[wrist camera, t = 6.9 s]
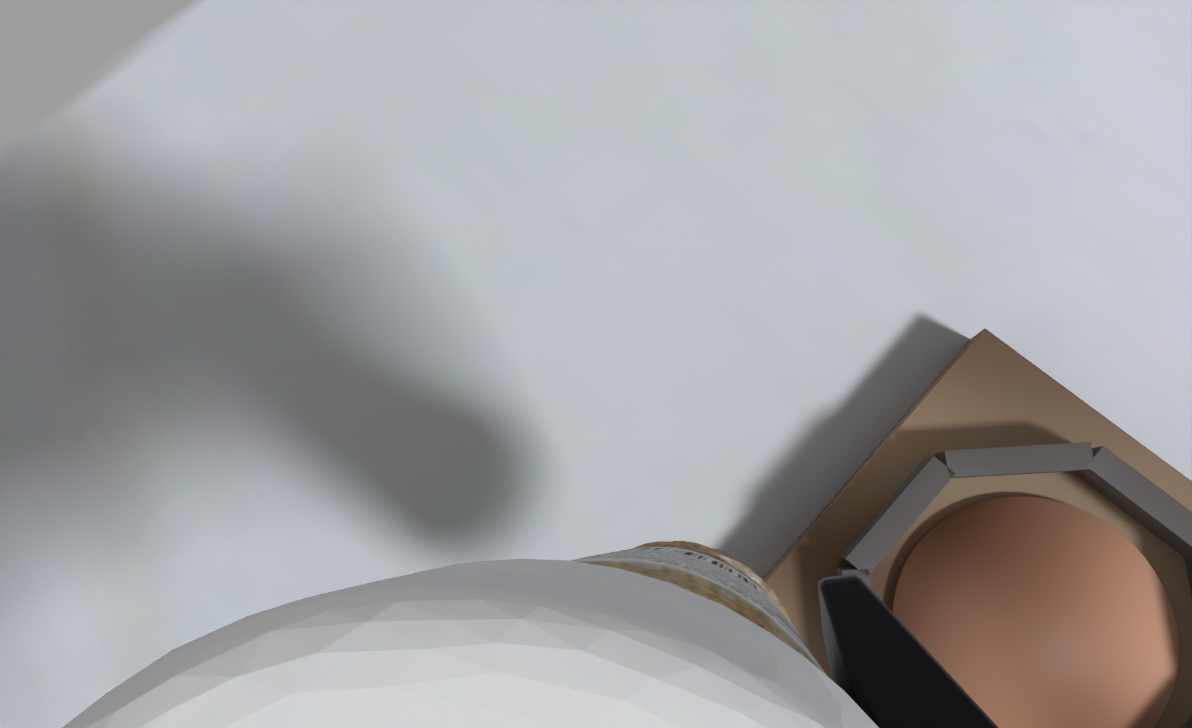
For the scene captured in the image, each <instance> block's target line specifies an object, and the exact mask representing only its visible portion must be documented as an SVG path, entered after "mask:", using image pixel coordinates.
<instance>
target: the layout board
mask: <svg viewBox="0 0 1192 728" xmlns="http://www.w3.org/2000/svg"><path fill="white" fill-rule="evenodd" d="M848 574H854V575H856V576H858V577H860V578H861V579H862V580H863V581H864V582H865V583H866V584H867V585H868V586H869V588H870V589H871V590H872V591H873V592H874V593H875V594H876V595H877V596H878V597H879V598H880V599H881V601H882V602H883V603H884V604H885V605H886V606H887V607H888V608H889V609H890V610H891V611H892V612H893V614H894V615H895V616H896V617H897V618H898V619H899V620H900V621H901V622H902V623H903V624H904V625H905V627H906V628H907V629H908V630H909V631H910V632H911V633H912V634H913V635H914V636H915V637H916V638H917V640H918V641H919V642H920V643H921V644H922V645H923V646H924V647H925V648H926V649H927V650H928V651H929V653H930V654H931V655H932V656H933V657H934V658H935V659H936V660H937V661H938V662H939V663H940V664H941V666H942V667H943V668H944V669H945V670H946V671H947V672H948V673H949V674H950V675H951V676H952V677H953V679H954V680H955V681H956V682H957V683H958V684H959V685H960V686H961V687H962V688H963V689H964V690H965V692H966V693H967V694H968V695H969V696H970V697H971V698H972V699H973V700H974V701H975V702H976V703H977V705H978V706H979V707H980V708H981V709H982V710H983V711H984V712H985V713H986V714H987V715H988V716H989V718H990V719H991V720H992V721H993V722H994V723H995V724H996V725H997V726H998V727H999V728H1192V481H1191V480H1189V479H1188V478H1186V477H1185V476H1184V475H1182V474H1181V473H1180V472H1178V471H1177V470H1176V469H1174V468H1173V467H1172V466H1170V465H1169V464H1168V463H1166V462H1165V461H1164V460H1162V459H1161V458H1159V457H1158V456H1157V455H1155V454H1154V453H1153V452H1151V451H1150V450H1149V449H1147V448H1146V447H1145V446H1143V445H1142V444H1141V443H1139V442H1138V441H1136V440H1135V439H1134V438H1132V437H1131V436H1130V435H1128V434H1127V433H1126V432H1124V431H1123V430H1122V429H1120V428H1119V427H1118V426H1116V425H1115V424H1113V423H1112V422H1111V421H1109V420H1108V419H1107V418H1105V417H1104V416H1103V415H1101V414H1100V413H1099V412H1097V411H1096V410H1095V409H1093V408H1092V407H1090V406H1089V405H1088V404H1086V403H1085V402H1084V401H1082V400H1081V399H1080V398H1078V397H1077V396H1076V395H1074V394H1073V393H1072V392H1070V391H1069V390H1067V389H1066V388H1065V387H1063V386H1062V385H1061V384H1059V383H1058V382H1057V381H1055V380H1054V379H1053V378H1051V377H1050V376H1049V375H1047V374H1046V373H1045V372H1043V371H1042V370H1040V369H1039V368H1038V367H1036V366H1035V365H1034V364H1032V363H1031V362H1030V361H1028V360H1027V359H1026V358H1024V357H1023V356H1022V355H1020V354H1019V353H1017V352H1016V351H1015V350H1013V349H1012V348H1011V347H1009V346H1008V345H1007V344H1005V343H1004V342H1003V341H1001V340H1000V339H999V338H997V337H996V336H994V335H993V334H992V333H990V332H989V331H988V330H986V329H984V330H982V331H981V332H980V333H978V334H977V335H976V336H974V337H973V338H972V339H971V340H970V341H969V342H968V343H967V344H966V345H965V346H964V348H963V349H962V350H961V351H960V352H959V353H958V355H957V356H956V357H955V358H954V359H953V360H952V362H951V363H950V364H949V365H948V366H947V367H946V368H945V370H944V371H943V372H942V373H941V374H940V375H939V377H938V378H937V379H936V380H935V381H934V382H933V384H932V385H931V386H930V387H929V388H928V389H927V390H926V392H925V393H924V394H923V395H922V396H921V397H920V399H919V400H918V401H917V402H916V403H915V404H914V405H913V407H912V408H911V409H910V410H909V411H908V412H907V414H906V415H905V416H904V417H903V418H902V419H901V421H900V422H899V423H898V424H897V425H896V426H895V427H894V429H893V430H892V431H891V432H890V433H889V434H888V436H887V437H886V438H885V439H884V440H883V441H882V443H881V444H880V445H879V446H878V447H877V448H876V449H875V451H874V452H873V453H872V454H871V455H870V456H869V458H868V459H867V460H866V461H865V462H864V463H863V464H862V466H861V467H860V468H859V469H858V470H857V471H856V473H855V474H854V475H853V476H852V477H851V478H850V480H849V481H848V482H847V483H846V484H845V485H844V486H843V488H842V489H841V490H840V491H839V492H838V493H837V495H836V496H835V497H834V498H833V499H832V500H831V501H830V503H829V504H828V505H827V506H826V507H825V508H824V510H823V511H822V512H821V513H820V514H819V515H818V517H817V518H816V519H815V520H814V521H813V522H812V523H811V525H810V526H809V527H808V528H807V529H806V530H805V532H804V533H803V534H802V535H801V536H800V537H799V539H798V540H797V541H796V542H795V543H794V544H793V545H792V547H791V548H790V549H789V550H788V551H787V552H786V554H785V555H784V556H783V557H782V558H781V559H780V560H779V562H778V563H777V564H776V565H775V566H774V567H773V569H772V570H771V571H770V572H769V573H768V574H767V576H766V577H765V578H764V579H763V581H764V582H765V583H766V584H767V585H768V586H769V587H770V588H771V589H772V590H773V592H774V593H775V595H776V596H777V598H778V599H779V601H780V602H781V604H782V605H783V607H784V609H785V610H786V612H787V614H788V616H789V618H790V621H791V623H792V625H793V626H794V627H795V629H796V630H797V632H798V633H799V635H800V636H801V637H802V639H803V640H804V642H805V643H806V645H807V646H808V648H809V649H810V651H811V652H812V654H813V655H814V657H815V659H816V660H817V662H818V663H819V665H820V666H821V668H822V669H823V671H824V672H825V674H826V675H827V676H828V677H829V678H830V679H831V680H832V681H833V679H832V675H831V670H830V666H829V661H828V657H827V653H826V648H825V643H824V638H823V631H822V622H821V613H820V603H819V593H818V583H819V581H820V580H821V579H823V578H826V577H833V576H841V575H848Z"/></svg>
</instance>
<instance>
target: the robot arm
mask: <svg viewBox="0 0 1192 728" xmlns="http://www.w3.org/2000/svg"><path fill="white" fill-rule="evenodd" d="M818 593H819V603H820V613H821V622H822V631H823V638H824V643H825V648H826V653H827V657H828V661H829V666H830V670H831V675H832V679H833V682H835V683H836V684H837V685H838V686H839V687H840V688H842V689H843V690H844V691H845V692H846V693H847V694H848V695H849V696H850V697H851V698H852V700H853V701H854V702H855V703H856V704H857V705H858V706H859V707H860V708H861V709H862V710H863V711H864V712H865V713H866V714H867V716H868V717H869V718H870V719H871V720H872V721H873V722H874V723H875V724H876V725H877V726H878V727H879V728H999V727H998V726H997V725H996V724H995V723H994V722H993V721H992V720H991V719H990V718H989V716H988V715H987V714H986V713H985V712H984V711H983V710H982V709H981V708H980V707H979V706H978V705H977V703H976V702H975V701H974V700H973V699H972V698H971V697H970V696H969V695H968V694H967V693H966V692H965V690H964V689H963V688H962V687H961V686H960V685H959V684H958V683H957V682H956V681H955V680H954V679H953V677H952V676H951V675H950V674H949V673H948V672H947V671H946V670H945V669H944V668H943V667H942V666H941V664H940V663H939V662H938V661H937V660H936V659H935V658H934V657H933V656H932V655H931V654H930V653H929V651H928V650H927V649H926V648H925V647H924V646H923V645H922V644H921V643H920V642H919V641H918V640H917V638H916V637H915V636H914V635H913V634H912V633H911V632H910V631H909V630H908V629H907V628H906V627H905V625H904V624H903V623H902V622H901V621H900V620H899V619H898V618H897V617H896V616H895V615H894V614H893V612H892V611H891V610H890V609H889V608H888V607H887V606H886V605H885V604H884V603H883V602H882V601H881V599H880V598H879V597H878V596H877V595H876V594H875V593H874V592H873V591H872V590H871V589H870V588H869V586H868V585H867V584H866V583H865V582H864V581H863V580H862V579H861V578H860V577H858V576H856V575H854V574H848V575H841V576H833V577H826V578H823V579H821V580H820V581H819V583H818Z"/></svg>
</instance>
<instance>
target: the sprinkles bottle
mask: <svg viewBox="0 0 1192 728" xmlns="http://www.w3.org/2000/svg"><path fill="white" fill-rule="evenodd" d="M63 728H879V727H878V726H877V725H876V724H875V723H874V722H873V721H872V720H871V719H870V718H869V717H868V716H867V714H866V713H865V712H864V711H863V710H862V709H861V708H860V707H859V706H858V705H857V704H856V703H855V702H854V701H853V700H852V698H851V697H850V696H849V695H848V694H847V693H846V692H845V691H844V690H843V689H842V688H840V687H839V686H838V685H837V684H836V683H835V682H833V681H832V680H831V679H830V678H829V677H828V676H827V675H826V674H825V672H824V671H823V669H822V668H821V666H820V665H819V663H818V662H817V660H816V659H815V657H814V655H813V654H812V652H811V651H810V649H809V648H808V646H807V645H806V643H805V642H804V640H803V639H802V637H801V636H800V635H799V633H798V632H797V630H796V629H795V627H794V626H793V625H792V623H791V621H790V618H789V616H788V614H787V612H786V610H785V609H784V607H783V605H782V604H781V602H780V601H779V599H778V598H777V596H776V595H775V593H774V592H773V590H772V589H771V588H770V587H769V586H768V585H767V584H766V583H765V582H764V581H763V580H762V579H761V578H760V577H759V576H758V575H757V574H756V573H755V572H754V571H753V570H752V569H750V568H749V567H748V566H746V565H745V564H744V563H742V562H740V561H738V560H736V559H734V558H732V557H729V556H728V555H726V554H725V553H723V552H721V551H719V550H716V549H711V548H709V547H706V546H704V545H701V544H698V543H693V542H686V541H673V542H653V543H647V544H643V545H640V546H637V547H635V548H633V549H629V550H623V551H618V552H612V553H607V554H602V555H596V556H590V557H585V558H580V559H576V560H572V561H561V560H535V559H513V560H497V561H480V562H473V563H466V564H459V565H452V566H446V567H441V568H437V569H432V570H427V571H423V572H418V573H413V574H409V575H404V576H400V577H395V578H390V579H386V580H381V581H376V582H372V583H367V584H363V585H359V586H354V587H350V588H346V589H342V590H338V591H333V592H329V593H325V594H321V595H317V596H312V597H308V598H304V599H301V600H298V601H295V602H292V603H288V604H285V605H282V606H279V607H276V608H273V609H269V610H266V611H263V612H260V613H257V614H254V615H250V616H247V617H245V618H243V619H240V620H238V621H236V622H234V623H232V624H229V625H227V626H225V627H223V628H220V629H218V630H216V631H214V632H212V633H209V634H207V635H205V636H203V637H200V638H198V639H196V640H194V641H192V642H189V643H187V644H185V645H183V646H180V647H178V648H176V649H174V650H172V651H170V652H169V653H167V654H166V655H164V656H163V657H161V658H160V659H158V660H157V661H155V662H154V663H152V664H151V665H149V666H148V667H146V668H145V669H143V670H141V671H140V672H138V673H137V674H135V675H134V676H132V677H131V678H129V679H128V680H126V681H125V682H123V683H122V684H120V685H119V686H117V687H116V688H114V689H112V690H111V691H109V692H108V693H106V694H105V695H104V696H103V697H101V698H100V699H99V700H97V701H96V702H95V703H94V704H92V705H91V706H90V707H88V708H87V709H86V710H84V711H83V712H82V713H81V714H79V715H78V716H77V717H75V718H74V719H73V720H72V721H70V722H69V723H68V724H66V725H65V726H64V727H63Z"/></svg>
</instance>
